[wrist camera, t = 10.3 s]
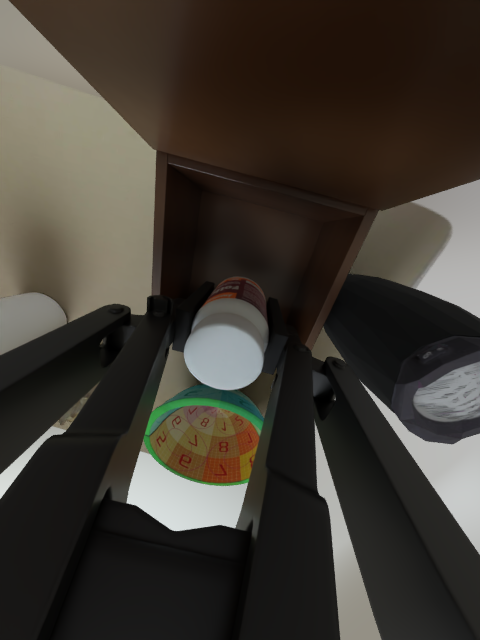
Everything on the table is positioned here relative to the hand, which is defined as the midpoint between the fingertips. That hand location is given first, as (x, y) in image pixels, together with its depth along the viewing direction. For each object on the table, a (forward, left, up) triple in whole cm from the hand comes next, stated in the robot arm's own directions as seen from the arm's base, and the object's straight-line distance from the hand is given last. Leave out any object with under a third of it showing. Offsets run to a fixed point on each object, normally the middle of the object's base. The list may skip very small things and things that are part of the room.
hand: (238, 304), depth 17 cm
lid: (-10, 0, +7) cm, 12 cm away
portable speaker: (0, +15, -13) cm, 20 cm away
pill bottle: (0, 0, -1) cm, 1 cm away
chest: (-2, 0, -13) cm, 13 cm away
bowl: (+27, +1, -13) cm, 30 cm away
